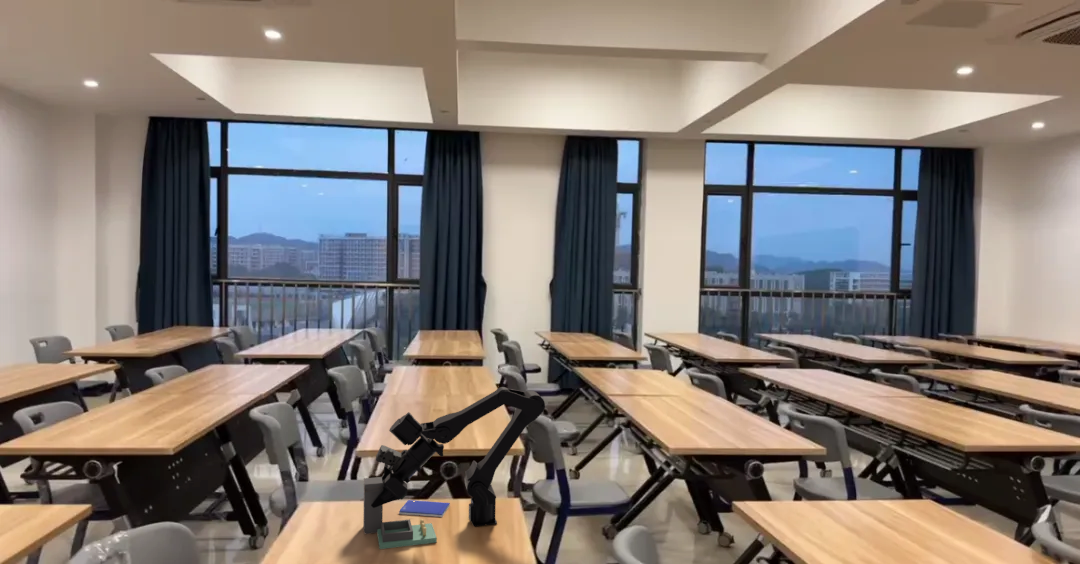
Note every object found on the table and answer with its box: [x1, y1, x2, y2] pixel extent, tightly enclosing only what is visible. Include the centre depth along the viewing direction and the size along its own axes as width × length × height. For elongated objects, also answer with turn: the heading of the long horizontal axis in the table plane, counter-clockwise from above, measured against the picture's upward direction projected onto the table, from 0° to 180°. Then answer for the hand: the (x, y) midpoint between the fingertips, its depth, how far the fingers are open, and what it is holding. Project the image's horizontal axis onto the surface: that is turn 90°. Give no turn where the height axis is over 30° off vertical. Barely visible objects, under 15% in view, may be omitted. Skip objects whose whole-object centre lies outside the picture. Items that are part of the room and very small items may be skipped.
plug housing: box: [362, 476, 384, 535], centre depth 167 cm, size 5×5×13 cm
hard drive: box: [398, 499, 451, 518], centre depth 181 cm, size 2×8×12 cm
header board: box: [376, 518, 438, 550], centre depth 163 cm, size 14×9×3 cm, turn 108°
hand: (372, 499), depth 167 cm, fingers open, 9 cm apart
